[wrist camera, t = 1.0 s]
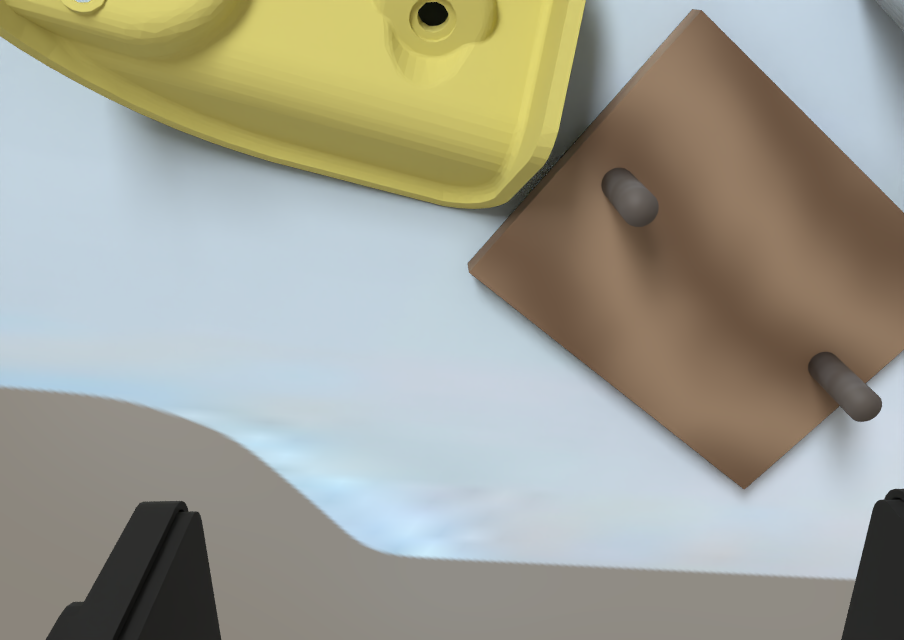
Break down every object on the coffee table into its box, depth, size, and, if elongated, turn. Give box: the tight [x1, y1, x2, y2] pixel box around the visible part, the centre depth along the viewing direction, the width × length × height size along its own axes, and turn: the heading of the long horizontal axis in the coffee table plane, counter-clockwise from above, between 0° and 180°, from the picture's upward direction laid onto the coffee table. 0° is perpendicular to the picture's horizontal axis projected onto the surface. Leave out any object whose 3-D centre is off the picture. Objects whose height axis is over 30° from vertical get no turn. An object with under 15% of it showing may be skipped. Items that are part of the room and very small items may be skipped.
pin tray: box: [468, 9, 904, 489], centre depth 35 cm, size 14×18×5 cm
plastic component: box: [0, 0, 586, 209], centre depth 31 cm, size 20×8×10 cm
